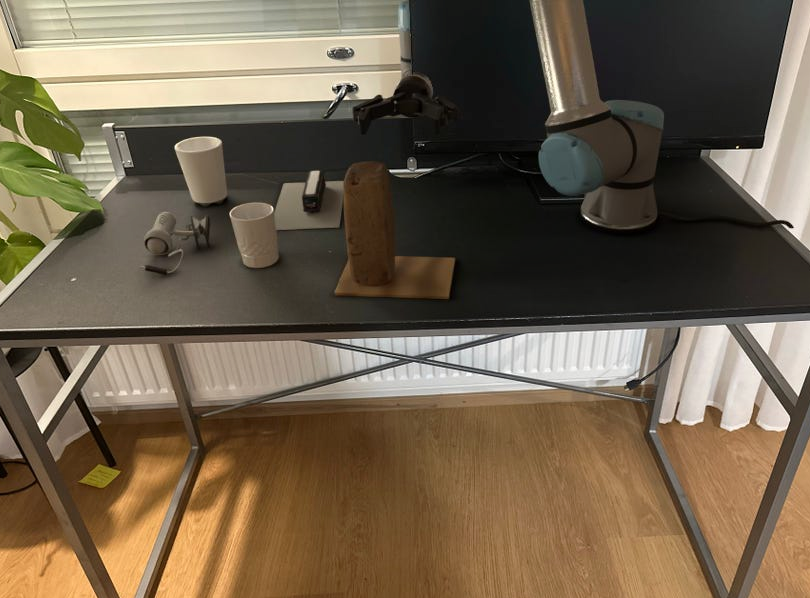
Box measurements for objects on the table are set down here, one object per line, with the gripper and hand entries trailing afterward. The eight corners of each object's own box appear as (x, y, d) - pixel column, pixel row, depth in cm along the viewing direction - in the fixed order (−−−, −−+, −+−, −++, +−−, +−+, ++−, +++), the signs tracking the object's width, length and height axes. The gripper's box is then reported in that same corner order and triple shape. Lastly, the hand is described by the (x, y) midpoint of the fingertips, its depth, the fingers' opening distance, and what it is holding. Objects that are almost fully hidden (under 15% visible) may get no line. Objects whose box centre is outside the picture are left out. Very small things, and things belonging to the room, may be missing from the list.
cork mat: (455, 260, 131) (455, 257, 130) (448, 299, 120) (448, 296, 119) (350, 257, 133) (350, 254, 132) (334, 295, 122) (334, 292, 121)
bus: (345, 180, 164) (343, 163, 161) (339, 227, 143) (337, 208, 141) (283, 183, 163) (281, 166, 161) (268, 230, 143) (265, 211, 141)
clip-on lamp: (198, 288, 131) (217, 227, 142) (192, 262, 126) (212, 202, 137) (134, 285, 130) (158, 224, 142) (125, 259, 125) (151, 198, 137)
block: (390, 289, 121) (382, 179, 110) (348, 287, 122) (336, 178, 110) (400, 260, 130) (394, 155, 118) (360, 258, 131) (350, 154, 119)
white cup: (289, 253, 135) (281, 204, 129) (268, 272, 129) (259, 222, 123) (253, 248, 137) (244, 200, 131) (231, 266, 131) (220, 217, 125)
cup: (213, 188, 162) (201, 133, 154) (242, 197, 157) (231, 141, 150) (178, 202, 156) (164, 146, 148) (207, 213, 151) (194, 155, 143)
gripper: (474, 112, 144) (468, 148, 127) (355, 112, 146) (334, 147, 129) (474, 74, 140) (468, 105, 122) (352, 75, 142) (329, 106, 125)
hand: (399, 127), depth 126 cm, fingers open, 13 cm apart
